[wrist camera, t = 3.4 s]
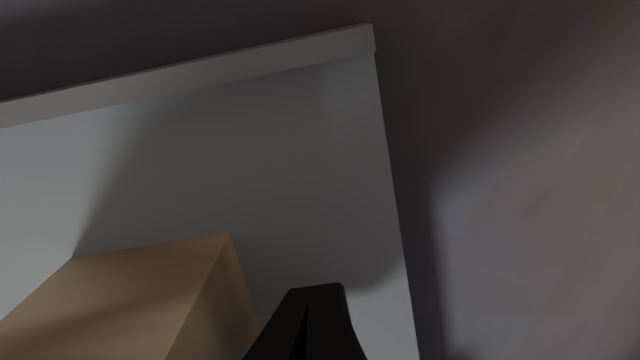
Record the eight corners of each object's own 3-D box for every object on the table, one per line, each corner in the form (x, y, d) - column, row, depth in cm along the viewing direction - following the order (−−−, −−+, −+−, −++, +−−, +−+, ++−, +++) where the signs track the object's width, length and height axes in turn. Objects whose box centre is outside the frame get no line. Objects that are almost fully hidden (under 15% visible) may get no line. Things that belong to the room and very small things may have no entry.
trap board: (365, 22, 10) (376, 25, 7) (424, 409, 15) (448, 523, 11) (-351, 175, 13) (-592, 230, 9) (-111, 463, 17) (-216, 568, 14)
